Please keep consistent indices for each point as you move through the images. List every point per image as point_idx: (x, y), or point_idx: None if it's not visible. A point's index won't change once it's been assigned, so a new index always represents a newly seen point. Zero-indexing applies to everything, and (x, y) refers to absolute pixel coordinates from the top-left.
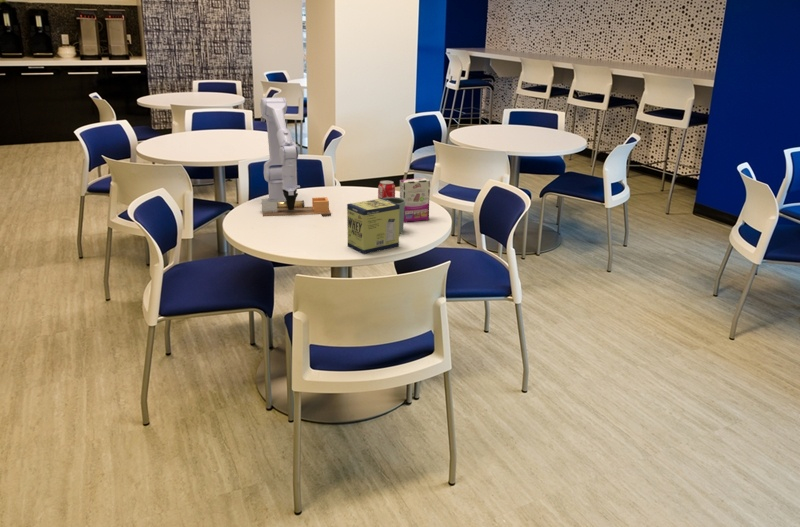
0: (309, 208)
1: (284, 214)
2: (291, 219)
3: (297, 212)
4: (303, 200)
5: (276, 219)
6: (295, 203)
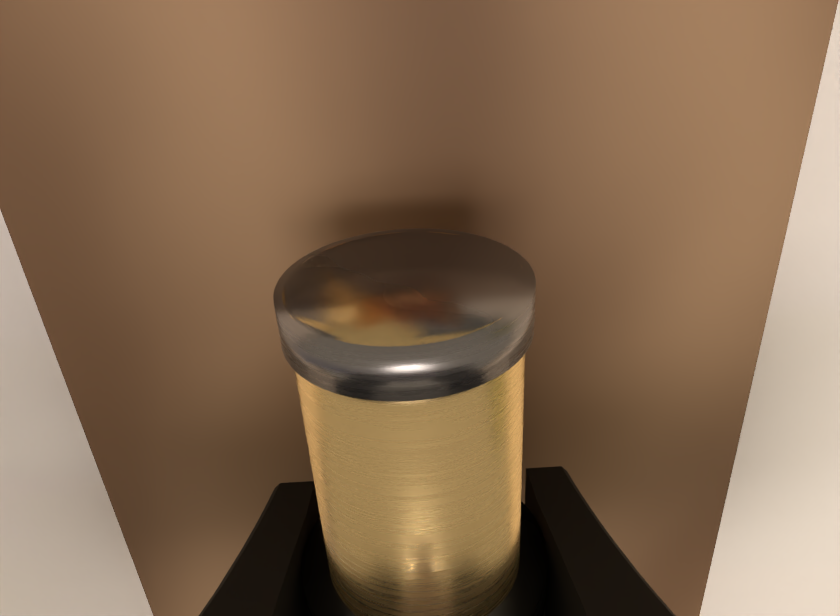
0: (154, 39)
1: (639, 555)
2: (825, 419)
3: (546, 350)
4: (405, 372)
5: (736, 607)
6: (510, 537)
